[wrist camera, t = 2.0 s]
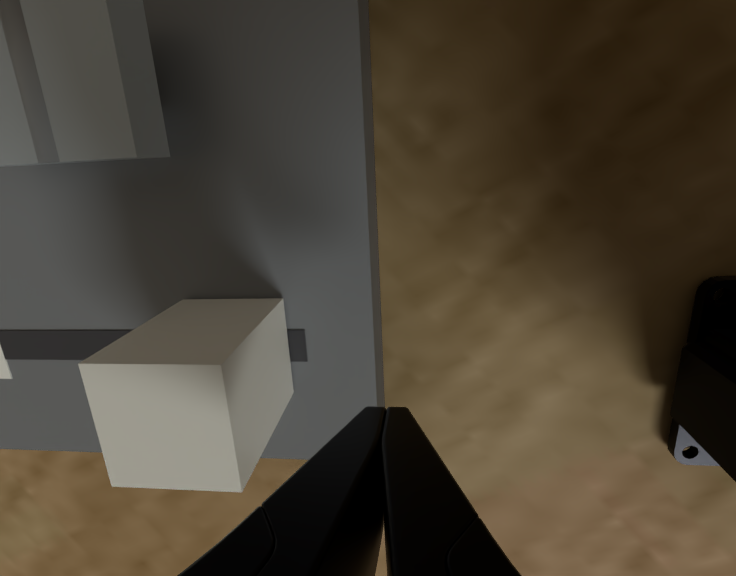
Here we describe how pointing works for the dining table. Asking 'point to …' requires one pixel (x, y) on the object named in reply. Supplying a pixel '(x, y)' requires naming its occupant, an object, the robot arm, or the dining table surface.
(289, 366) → the off-white cube
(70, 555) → the dining table surface
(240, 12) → the switch console
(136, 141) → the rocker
